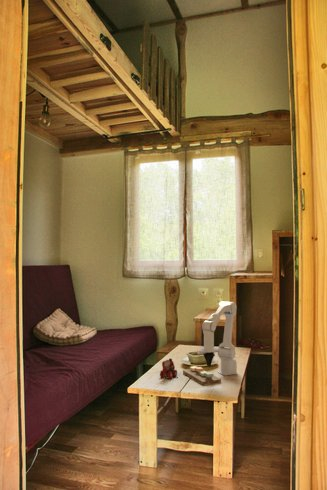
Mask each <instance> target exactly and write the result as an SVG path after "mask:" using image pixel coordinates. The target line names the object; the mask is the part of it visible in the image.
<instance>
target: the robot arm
mask: <svg viewBox="0 0 327 490" xmlns="http://www.w3.org/2000/svg"><path fill="white" fill-rule="evenodd" d="M217 307H218V308H217V309H216V311H215V312H214V313H211V315H210V316H209V317H208V319H206V320H204V321H203V322H202V324H201V329H202V333H203V349H198V350H196V354H197V355H203V357H204V359H205V362H206V366H207V367H211V365H212V362H213V360H214V357H215V356H216V355H215V353H217V356H218V357H219V359H220V370H218V371H217V372H218V373H219V374H221V375H223V376H229V375H230V376H231V375H238V373H237V367H238V366H237V365H238V364H237V359H235V357H236V347H235V345H234V344H233V343H232V338H233V329H234V317H235V316H236V315H237V309H238V308H237V307H238V306H237V305H236V302H235V301H225V300H224V301H223V300H222V301H220V302H219V303H218V305H217ZM222 315H223V316H224V317H225V320H224V321H225V322H224V327H223V328H224V331H223V339H222V342H221V343H219V345H218V347H215V331H216V328H217V325H218V324H219V322H220V321H221V317H222Z"/></svg>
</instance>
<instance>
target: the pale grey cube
mask: <svg viewBox="0 0 327 490" xmlns="http://www.w3.org/2000/svg"><path fill="white" fill-rule="evenodd" d="M213 375H214V373H212V372H211V371H207V372H206V373H204V376H206V379H207V380H211V379H212V377H213Z"/></svg>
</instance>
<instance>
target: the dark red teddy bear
mask: <svg viewBox="0 0 327 490" xmlns="http://www.w3.org/2000/svg"><path fill="white" fill-rule="evenodd" d="M161 366H162V370H160V371H159V376H160V378H165V377H166V378H167V379H168V380H172V379H173V378H176V377H177V375H178V370H177V369H175V368H176V367H175V363H174V361H173V359H172V358H171V357H170V358H169V359H166V360H164V361H162V362H161Z"/></svg>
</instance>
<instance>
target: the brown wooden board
mask: <svg viewBox="0 0 327 490" xmlns="http://www.w3.org/2000/svg"><path fill="white" fill-rule="evenodd" d="M203 371H206V370H205V369H203ZM206 372H208V371H206ZM182 374H183V375H184V376H186V375H187V376H186V377H188V378H190V379H192V380H193V381H195V382H197V383H198V384H200V385H201V386H206V385H213V384H221V383H222V379H221V378H220V377H218V376H216V375H214V374H213V377H212V379H211V380H207V379H206V377H202V376H201V375H199V374H196V371H194V372H193V371H192V370H190V368H189V369H183V370H182Z"/></svg>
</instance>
